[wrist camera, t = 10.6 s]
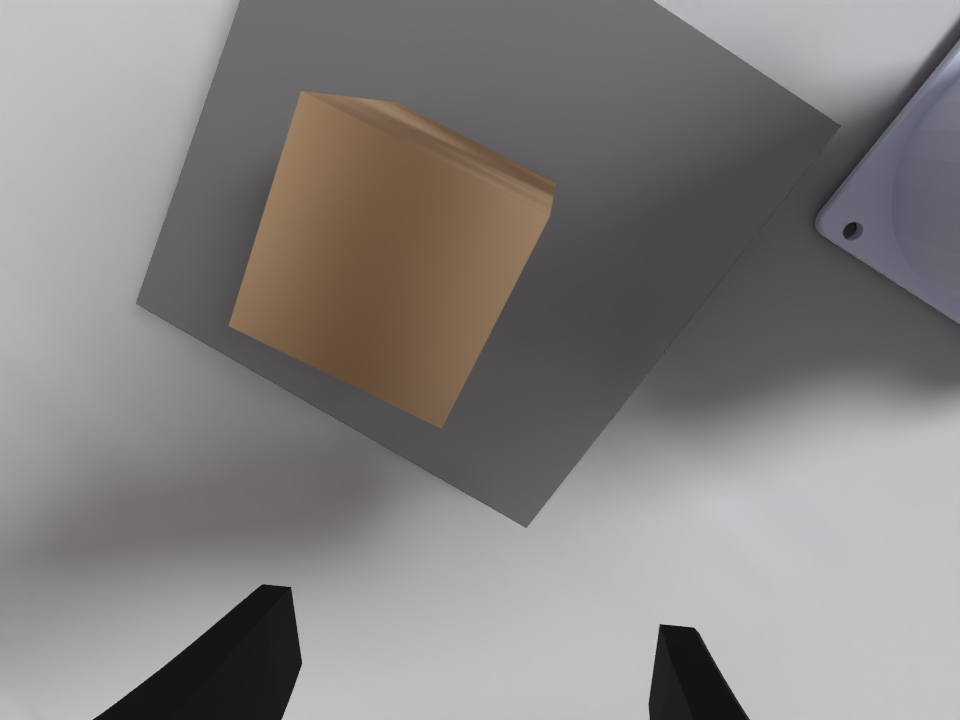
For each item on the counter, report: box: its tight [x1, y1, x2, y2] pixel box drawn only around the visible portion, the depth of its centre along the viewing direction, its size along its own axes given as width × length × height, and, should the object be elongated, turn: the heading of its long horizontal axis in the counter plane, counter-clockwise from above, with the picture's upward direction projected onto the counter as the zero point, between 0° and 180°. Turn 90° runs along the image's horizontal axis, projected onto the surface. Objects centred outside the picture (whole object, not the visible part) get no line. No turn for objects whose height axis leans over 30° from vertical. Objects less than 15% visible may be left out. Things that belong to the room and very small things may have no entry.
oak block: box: [229, 91, 556, 429], centre depth 13 cm, size 4×4×6 cm
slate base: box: [136, 0, 841, 528], centre depth 18 cm, size 14×14×3 cm
